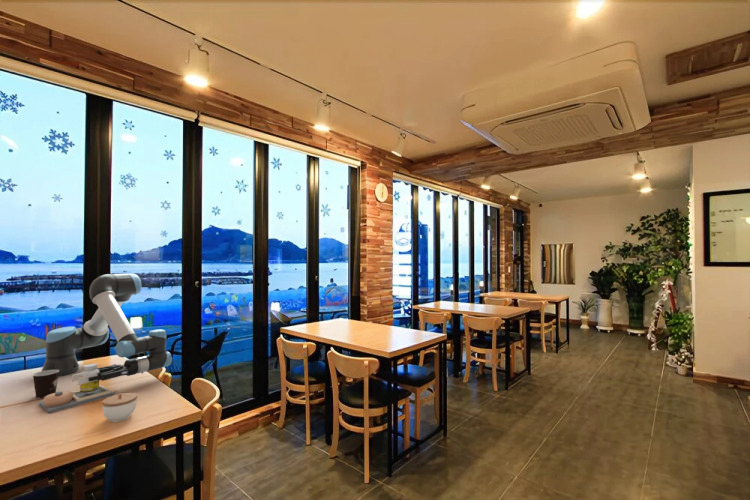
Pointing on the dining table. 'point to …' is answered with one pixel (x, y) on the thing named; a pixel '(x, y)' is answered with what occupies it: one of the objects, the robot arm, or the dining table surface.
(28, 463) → the dining table surface
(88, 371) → the pill bottle
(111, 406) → the lidded jar
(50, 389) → the dark brown tapered cup
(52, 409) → the board
